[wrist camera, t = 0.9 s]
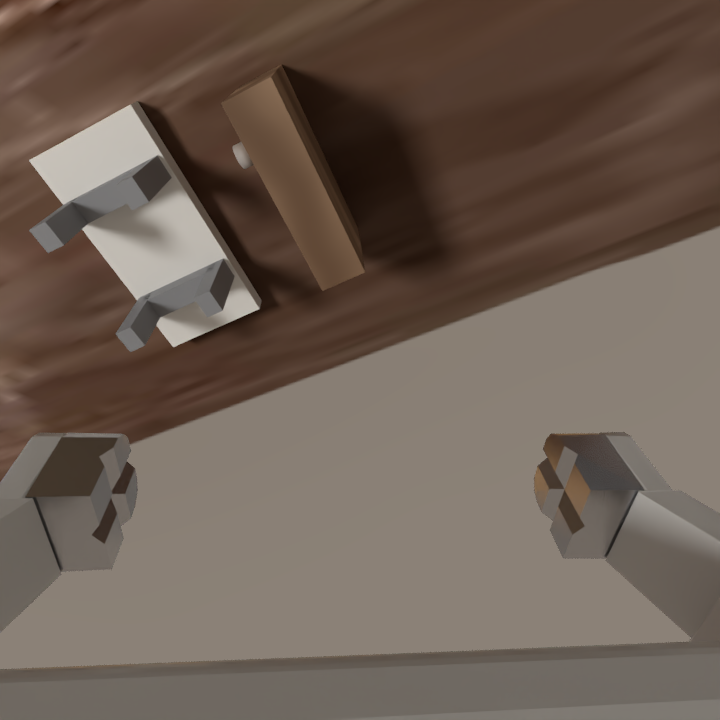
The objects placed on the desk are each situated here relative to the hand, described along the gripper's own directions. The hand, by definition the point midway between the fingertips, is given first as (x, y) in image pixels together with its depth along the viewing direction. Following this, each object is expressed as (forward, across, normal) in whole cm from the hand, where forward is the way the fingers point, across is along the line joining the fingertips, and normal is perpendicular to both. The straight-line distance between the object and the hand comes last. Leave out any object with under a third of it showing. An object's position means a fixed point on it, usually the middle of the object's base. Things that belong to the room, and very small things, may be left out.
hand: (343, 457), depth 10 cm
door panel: (+31, +1, +1) cm, 31 cm away
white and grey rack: (+32, +12, +7) cm, 34 cm away
